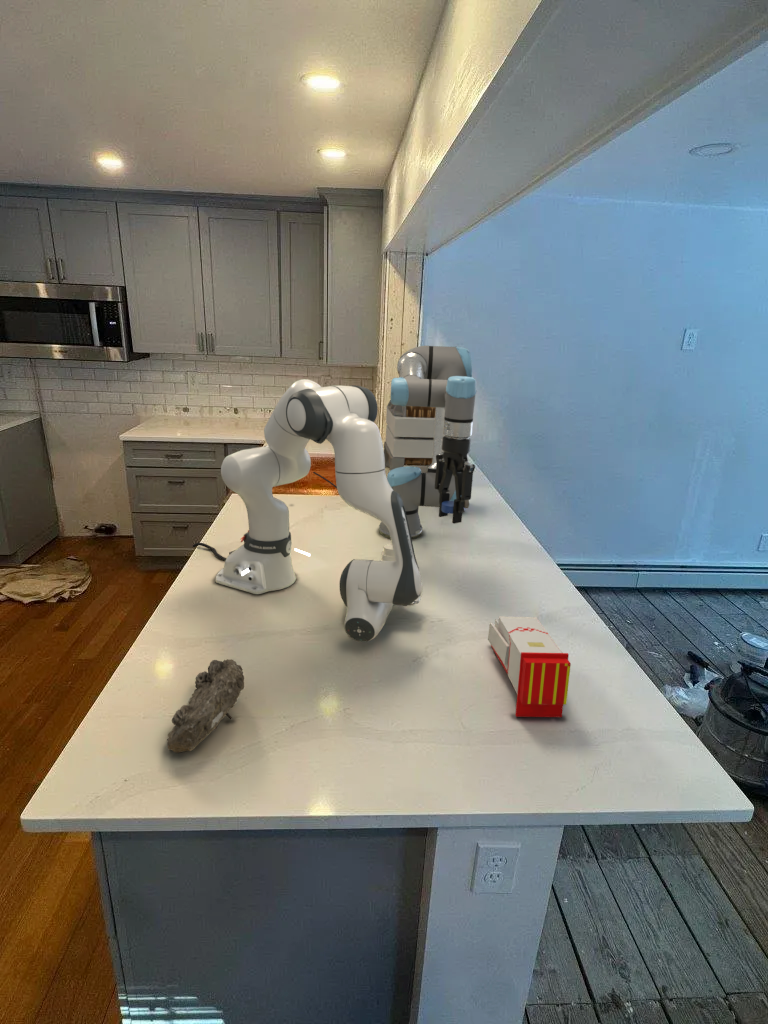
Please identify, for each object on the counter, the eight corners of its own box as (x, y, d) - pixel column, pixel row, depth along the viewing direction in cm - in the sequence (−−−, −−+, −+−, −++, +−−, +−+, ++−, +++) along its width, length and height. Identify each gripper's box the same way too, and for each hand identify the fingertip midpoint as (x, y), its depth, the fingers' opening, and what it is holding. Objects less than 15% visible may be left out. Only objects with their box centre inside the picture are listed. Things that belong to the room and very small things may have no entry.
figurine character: (469, 517, 223) (463, 501, 236) (471, 500, 219) (465, 484, 233) (452, 516, 222) (447, 500, 236) (454, 499, 219) (449, 483, 232)
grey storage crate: (382, 463, 289) (386, 382, 275) (445, 464, 293) (451, 384, 279) (390, 482, 257) (394, 392, 243) (460, 483, 261) (468, 394, 247)
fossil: (192, 660, 117) (244, 628, 112) (224, 691, 120) (276, 661, 115) (142, 746, 98) (202, 712, 93) (182, 779, 101) (242, 748, 96)
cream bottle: (390, 592, 158) (393, 541, 153) (400, 600, 155) (403, 548, 149) (376, 596, 156) (378, 545, 151) (385, 604, 152) (388, 551, 147)
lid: (442, 513, 154) (442, 506, 153) (440, 507, 159) (440, 500, 158) (461, 514, 154) (461, 507, 154) (458, 508, 159) (459, 501, 158)
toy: (534, 602, 136) (579, 659, 107) (529, 653, 139) (572, 723, 110) (484, 601, 136) (516, 658, 107) (480, 652, 139) (510, 722, 109)
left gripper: (418, 593, 138) (428, 569, 150) (338, 581, 142) (354, 559, 155) (417, 616, 140) (426, 591, 153) (338, 603, 144) (354, 579, 157)
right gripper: (424, 431, 155) (419, 511, 163) (469, 445, 141) (461, 532, 148) (446, 429, 159) (439, 507, 166) (491, 442, 145) (482, 527, 152)
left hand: (389, 574), depth 154 cm, fingers closed on cream bottle, 5 cm apart
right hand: (449, 519), depth 157 cm, fingers closed on lid, 5 cm apart
